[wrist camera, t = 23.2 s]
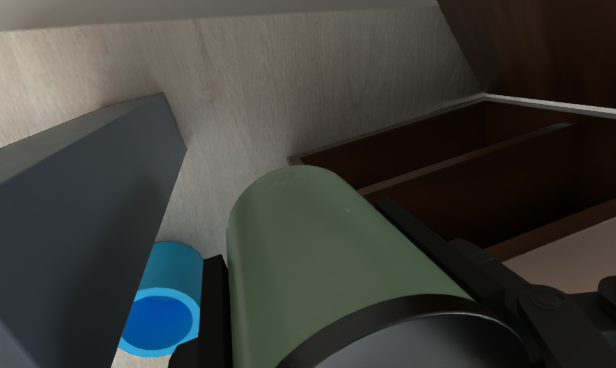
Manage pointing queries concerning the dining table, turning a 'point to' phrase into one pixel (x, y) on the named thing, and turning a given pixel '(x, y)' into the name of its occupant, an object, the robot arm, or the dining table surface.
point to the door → (539, 47)
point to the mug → (165, 302)
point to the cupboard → (499, 183)
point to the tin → (345, 286)
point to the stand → (81, 230)
